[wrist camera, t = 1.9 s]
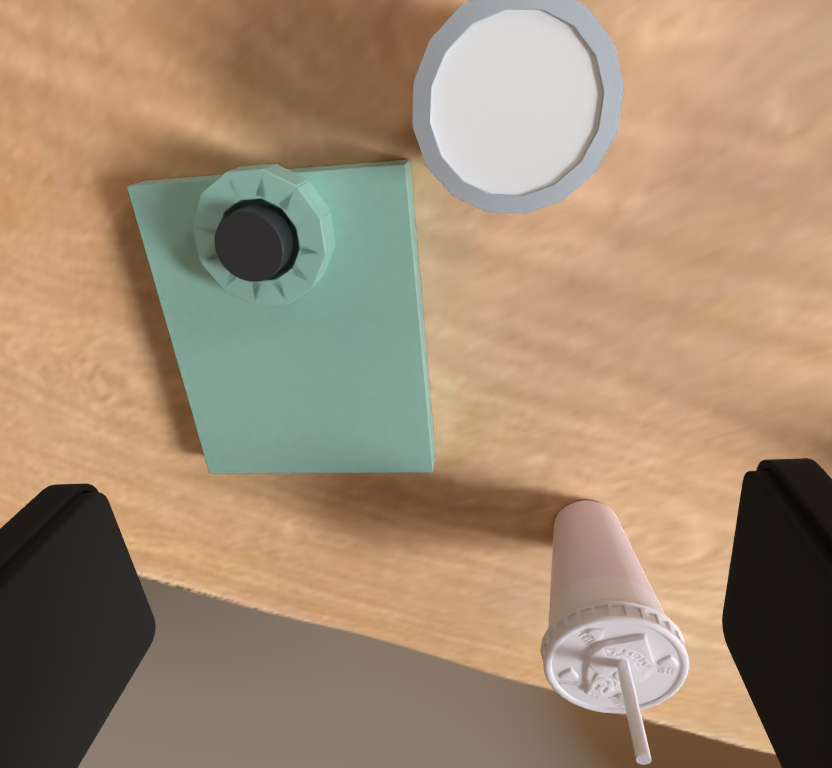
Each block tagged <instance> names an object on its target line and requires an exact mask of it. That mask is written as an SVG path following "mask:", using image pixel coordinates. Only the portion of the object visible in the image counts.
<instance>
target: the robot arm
mask: <svg viewBox="0 0 832 768" xmlns="http://www.w3.org/2000/svg"><path fill="white" fill-rule="evenodd" d="M722 625H723V632H724V637H725V641H726V643H727V646H728V649H729V651H730V653H731V655H732V657H733V660H734V662H735V664H736V666H737V669H738V671H739V673H740V675H741V677H742V680H743V682H744V684H745V686H746V688H747V691H748V693H749V695H750V697H751V700H752V702H753V704H754V706H755V708H756V711H757V713H758V715H759V717H760V720H761V722H762V724H763V726H764V728H765V731H766V733H767V735H768V737H769V740H770V742H771V744H772V746H773V748H774V751H775V753H776V755H777V757H778V760H779V762H780V764H781V766H782V768H832V479H831V478H830V477H829V476H828V475H827V473H826V472H825V471H824V470H823V469H822V468H821V467H820V466H819V465H818V464H817V463H816V462H815V461H814V460H812V459H808V458H803V459H775V460H763V461H761V462H760V463H759V465H758V467H757V470H756V471H748V472H747V473H746V474H745V476H744V479H743V483H742V490H741V497H740V503H739V510H738V516H737V523H736V530H735V536H734V543H733V550H732V556H731V563H730V569H729V576H728V583H727V589H726V596H725V603H724V609H723V616H722ZM154 634H155V620H154V616H153V614H152V611H151V609H150V606H149V604H148V601H147V599H146V596H145V593H144V591H143V588H142V586H141V583H140V580H139V578H138V575H137V573H136V570H135V568H134V565H133V562H132V560H131V557H130V555H129V552H128V550H127V547H126V545H125V542H124V539H123V537H122V534H121V532H120V529H119V527H118V524H117V522H116V519H115V516H114V514H113V511H112V509H111V506H110V504H109V501H108V499H107V498H106V496H105V495H104V494H102V493H99V492H98V490H97V489H96V488H95V487H94V486H93V485H90V484H60V485H51V486H48V487H47V488H45V489H44V490H42V491H41V492H40V493H39V494H38V495H37V496H36V497H35V498H34V499H32V500H31V501H30V502H29V503H28V504H27V505H26V506H25V507H24V508H23V509H21V510H20V511H19V512H18V513H17V514H16V515H15V516H14V517H13V518H12V519H10V520H9V521H8V522H7V523H6V524H5V525H4V526H3V527H2V528H1V529H0V768H78V766H79V764H80V763H81V761H82V759H83V758H84V756H85V754H86V753H87V750H88V749H89V747H90V746H91V744H92V743H93V741H94V739H95V737H96V736H97V734H98V732H99V731H100V729H101V727H102V726H103V724H104V722H105V721H106V719H107V717H108V716H109V714H110V712H111V710H112V709H113V707H114V706H115V704H116V702H117V700H118V699H119V697H120V696H121V694H122V692H123V691H124V689H125V687H126V685H127V684H128V682H129V680H130V679H131V677H132V675H133V674H134V672H135V670H136V669H137V667H138V665H139V664H140V662H141V660H142V658H143V657H144V655H145V653H146V652H147V650H148V649H149V647H150V645H151V643H152V641H153V638H154Z"/></svg>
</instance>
